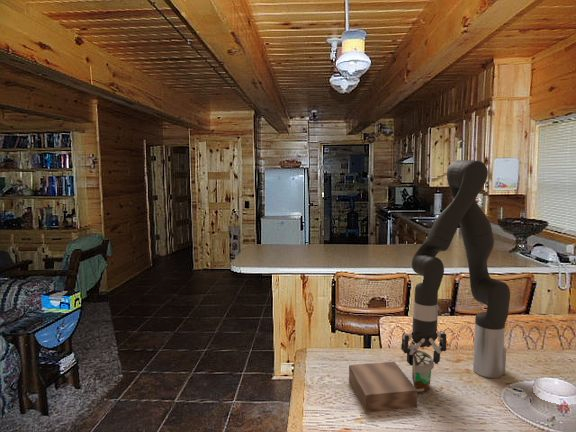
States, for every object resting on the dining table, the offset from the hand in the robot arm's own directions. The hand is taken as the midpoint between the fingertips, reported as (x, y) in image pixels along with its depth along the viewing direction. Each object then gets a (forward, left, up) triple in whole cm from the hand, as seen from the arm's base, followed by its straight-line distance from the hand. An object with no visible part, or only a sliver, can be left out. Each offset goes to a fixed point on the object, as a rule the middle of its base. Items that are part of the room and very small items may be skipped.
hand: (423, 363), depth 135 cm
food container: (0, 0, -8) cm, 8 cm away
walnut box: (+15, +2, -9) cm, 17 cm away
